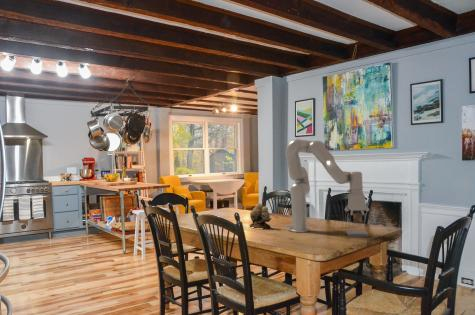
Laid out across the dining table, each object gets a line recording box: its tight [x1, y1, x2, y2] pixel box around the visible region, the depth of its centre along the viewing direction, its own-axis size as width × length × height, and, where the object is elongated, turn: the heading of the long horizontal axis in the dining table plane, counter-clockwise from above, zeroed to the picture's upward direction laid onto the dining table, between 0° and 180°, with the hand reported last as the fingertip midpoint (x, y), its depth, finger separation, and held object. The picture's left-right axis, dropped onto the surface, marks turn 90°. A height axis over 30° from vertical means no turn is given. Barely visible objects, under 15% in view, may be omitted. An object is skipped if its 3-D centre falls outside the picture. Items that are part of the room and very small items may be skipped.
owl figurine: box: [248, 203, 272, 229], centre depth 260 cm, size 18×12×17 cm, turn 49°
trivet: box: [345, 230, 370, 238], centre depth 228 cm, size 12×12×2 cm
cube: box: [352, 213, 363, 224], centre depth 228 cm, size 5×5×5 cm
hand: (357, 221), depth 228 cm, fingers closed on cube, 5 cm apart
